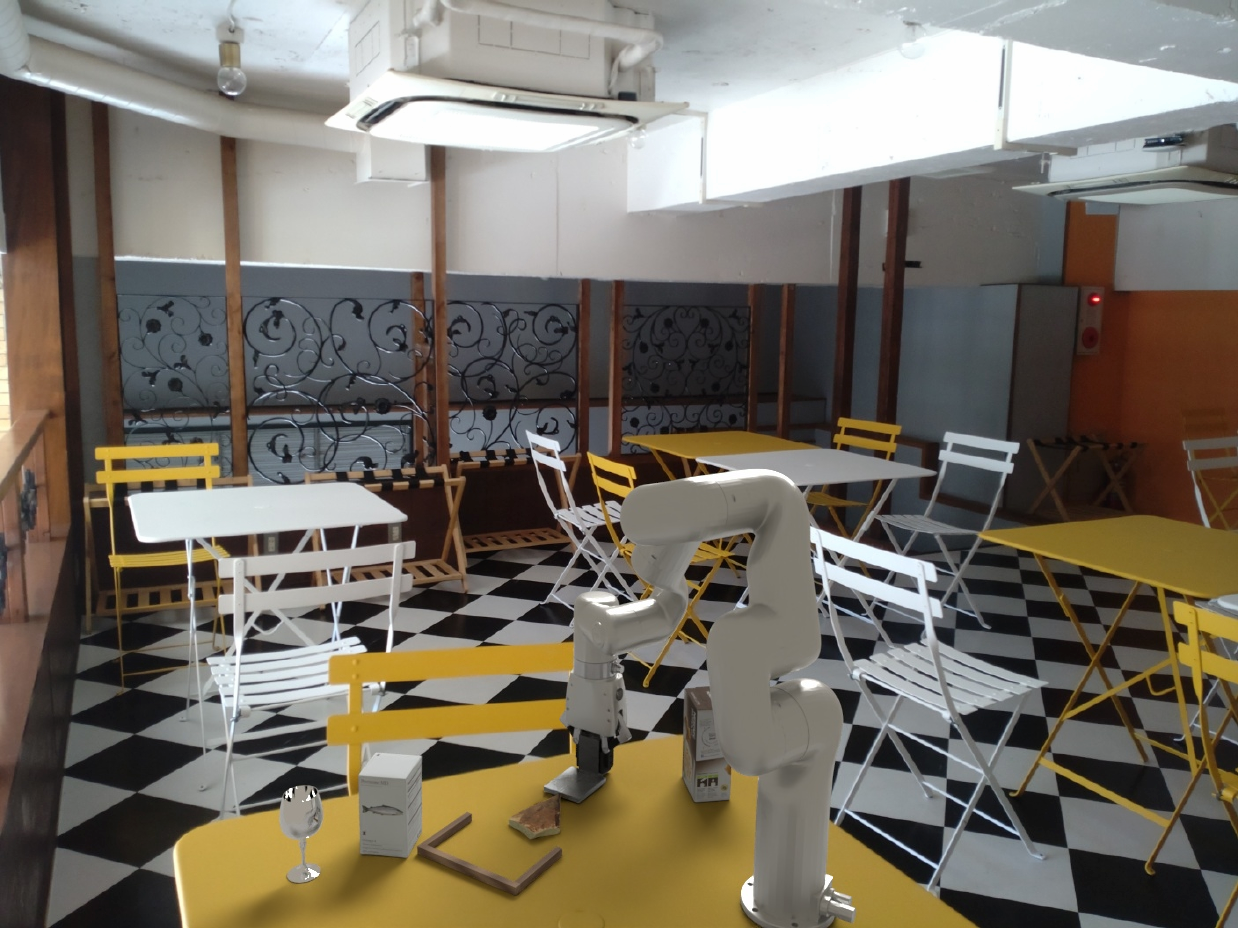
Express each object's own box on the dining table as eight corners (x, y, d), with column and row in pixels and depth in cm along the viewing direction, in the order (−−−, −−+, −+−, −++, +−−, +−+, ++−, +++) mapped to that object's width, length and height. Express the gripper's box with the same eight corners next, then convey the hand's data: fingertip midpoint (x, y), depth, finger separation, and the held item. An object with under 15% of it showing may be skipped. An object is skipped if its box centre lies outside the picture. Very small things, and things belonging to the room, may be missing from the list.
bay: (562, 855, 134) (562, 848, 134) (515, 895, 125) (515, 887, 125) (467, 818, 143) (466, 811, 143) (417, 853, 134) (417, 845, 134)
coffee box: (731, 800, 150) (735, 707, 147) (693, 803, 149) (697, 710, 146) (716, 772, 159) (719, 684, 156) (680, 775, 158) (682, 686, 155)
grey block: (584, 760, 161) (584, 723, 160) (618, 771, 158) (618, 733, 157) (543, 790, 151) (543, 751, 150) (578, 803, 148) (579, 762, 146)
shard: (560, 800, 150) (560, 790, 150) (592, 819, 144) (592, 809, 144) (506, 825, 142) (506, 815, 142) (538, 846, 137) (538, 835, 137)
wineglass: (280, 888, 125) (276, 807, 123) (283, 864, 131) (280, 785, 129) (324, 882, 127) (321, 801, 125) (326, 858, 132) (323, 781, 130)
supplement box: (358, 855, 133) (355, 774, 131) (377, 827, 141) (375, 750, 138) (407, 859, 133) (405, 778, 130) (424, 831, 140) (422, 753, 138)
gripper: (650, 669, 153) (647, 771, 156) (567, 648, 162) (566, 745, 165) (626, 684, 147) (624, 790, 150) (542, 662, 156) (541, 762, 159)
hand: (594, 765), depth 158 cm, fingers closed on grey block, 4 cm apart
